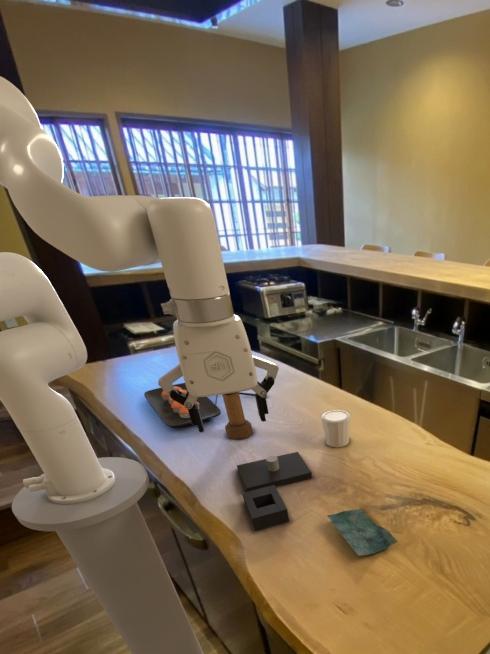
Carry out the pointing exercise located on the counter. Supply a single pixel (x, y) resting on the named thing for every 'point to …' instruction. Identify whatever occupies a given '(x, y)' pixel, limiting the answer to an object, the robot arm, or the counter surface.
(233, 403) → the wooden pepper mill
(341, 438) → the white cup
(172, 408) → the sushi plate
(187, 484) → the counter surface
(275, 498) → the black block with hole
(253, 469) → the base pad
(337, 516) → the nori seaweed sheet
